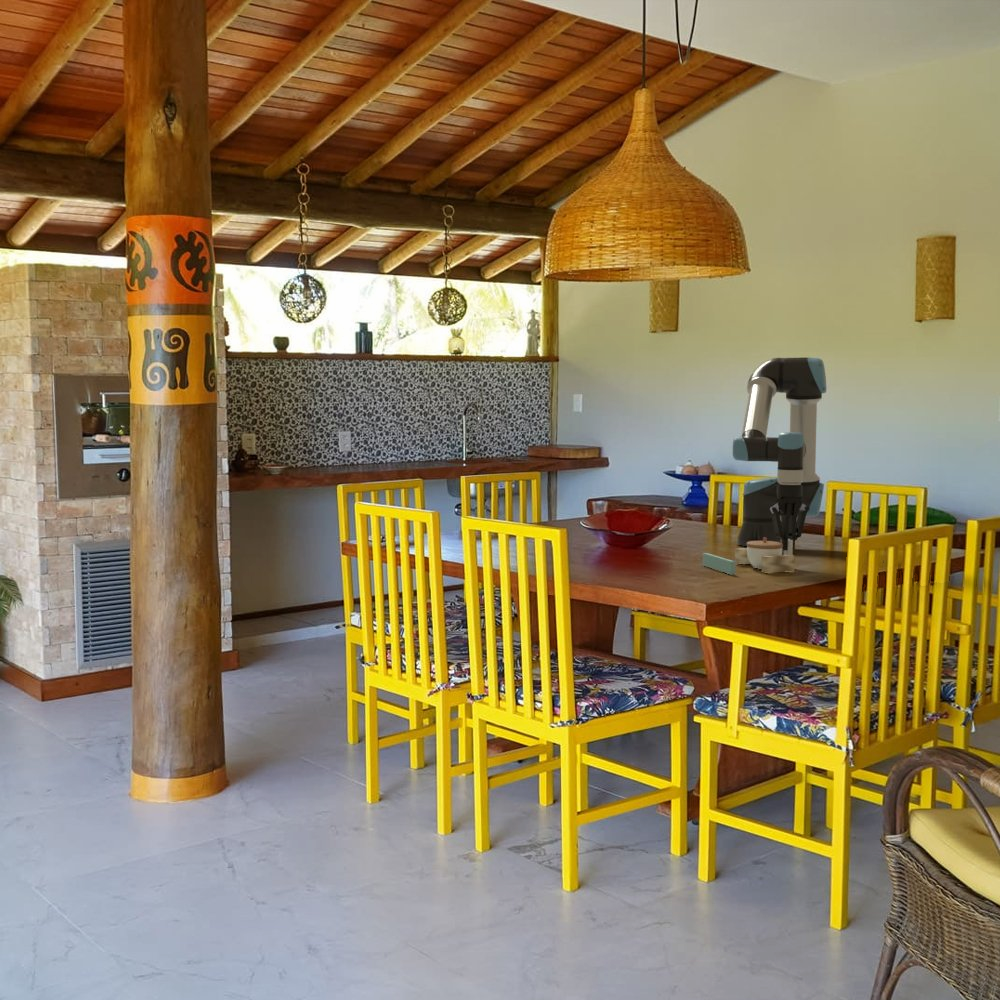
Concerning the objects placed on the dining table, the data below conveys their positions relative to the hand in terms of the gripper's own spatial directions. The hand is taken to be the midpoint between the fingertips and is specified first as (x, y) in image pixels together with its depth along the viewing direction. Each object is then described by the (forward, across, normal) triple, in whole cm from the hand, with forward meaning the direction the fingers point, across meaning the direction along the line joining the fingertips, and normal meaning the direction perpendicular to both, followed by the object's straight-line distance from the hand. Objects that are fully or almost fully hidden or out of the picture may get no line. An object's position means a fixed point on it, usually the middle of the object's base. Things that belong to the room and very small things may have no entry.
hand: (787, 560), depth 354 cm
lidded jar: (+2, +8, 0) cm, 8 cm away
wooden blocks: (+2, +8, 0) cm, 8 cm away
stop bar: (+2, +23, 0) cm, 23 cm away
